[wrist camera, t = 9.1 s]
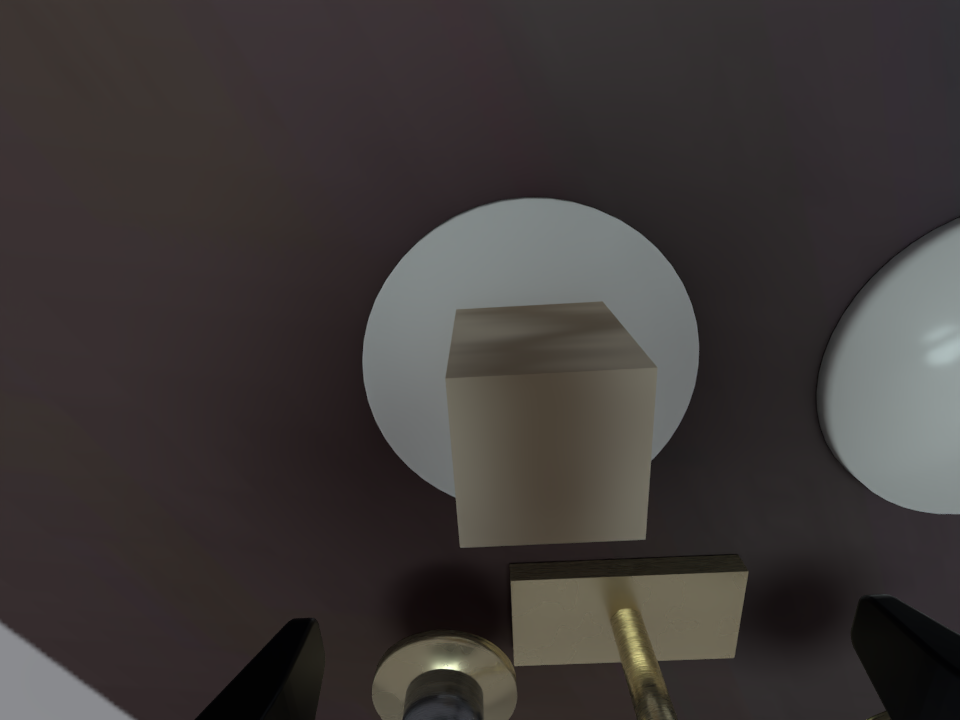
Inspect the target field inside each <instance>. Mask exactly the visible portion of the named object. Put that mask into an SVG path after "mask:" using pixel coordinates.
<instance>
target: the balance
mask: <svg viewBox="0 0 960 720" xmlns="http://www.w3.org/2000/svg"><path fill="white" fill-rule="evenodd" d="M748 572H749V571H748V570H747V568H746V567H745V565H744V563H743V562H742V560H741V559H740V557H739V556H738V555H716V556H692V557H668V558H643V559H619V560H595V561H570V562H546V563H522V564H510V587H511V611H512V635H513V655H514V666H530V665H557V664H584V663H611V662H621V663H622V667H623V671H624V674H625V678H626V681H627V685H628V689H629V692H630V696H631V700H632V703H633V707H634V710H635V714H636V718H637V720H678V719H677V716H676V713H675V710H674V707H673V704H672V702H671V699H670V696H669V693H668V690H667V687H666V684H665V681H664V679H663V676H662V673H661V670H660V667H659V664H658V661H665V660H692V659H719V658H734V657H735V651H736V645H737V639H738V633H739V627H740V620H741V614H742V608H743V602H744V596H745V590H746V584H747V578H748ZM372 700H373V703H374V706H375V709H376V711H377V713H378V714H379V716H380V717H381V718H382V720H509V718H510V717H511V715H512V714H513V711H514V709H515V706H516V702H517V684H516V674H515V671H514V667H513V665H512V663H511V661H510V660H509V658H508V657H507V656H506V654H505V653H504V652H503V651H502V650H501V649H500V648H498V647H497V646H496V645H494V644H493V643H491V642H490V641H488V640H486V639H484V638H482V637H480V636H477V635H474V634H471V633H467V632H463V631H457V630H430V631H425V632H420V633H417V634H414V635H411V636H408V637H406V638H404V639H402V640H400V641H399V642H397V643H396V644H394V645H393V646H392V647H390V648H389V649H388V650H387V651H386V652H385V653H384V655H383V656H382V658H381V659H380V661H379V663H378V665H377V668H376V672H375V676H374V681H373V686H372ZM867 720H891V719H890V717H889V715H888V713H887V711H884V712H882V713H879V714H877V715H875V716H872V717H870V718H869V719H867Z"/></svg>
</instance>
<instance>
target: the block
mask: <svg viewBox="0 0 960 720" xmlns="http://www.w3.org/2000/svg"><path fill="white" fill-rule="evenodd" d="M657 369H658V367H657V366H656V365H655V364H654V363H653V361H652V360H651V359H650V358H649V357H648V355H647V354H646V353H645V352H644V351H643V349H642V348H641V347H640V346H639V345H638V343H637V342H636V341H635V340H634V339H633V337H632V336H631V335H630V334H629V333H628V331H627V330H626V329H625V328H624V327H623V325H622V324H621V323H620V322H619V321H618V319H617V318H616V317H615V316H614V314H613V313H612V312H611V311H610V310H609V308H608V307H607V306H606V305H605V304H604V302H603V301H601V302H583V303H564V304H546V305H528V306H509V307H491V308H472V309H456V314H455V320H454V326H453V333H452V339H451V345H450V352H449V358H448V364H447V371H446V377H445V381H446V393H447V404H448V416H449V427H450V439H451V450H452V462H453V473H454V484H455V496H456V507H457V519H458V530H459V542H460V548H468V547H490V546H513V545H535V544H558V543H580V542H603V541H625V540H645V539H646V525H647V511H648V497H649V482H650V468H651V454H652V440H653V426H654V411H655V397H656V383H657Z"/></svg>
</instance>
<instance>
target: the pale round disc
mask: <svg viewBox="0 0 960 720" xmlns="http://www.w3.org/2000/svg"><path fill="white" fill-rule="evenodd" d="M601 301H603V302H604V304H605V305H606V306H607V307H608V308H609V310H610V311H611V312H612V313H613V314H614V316H615V317H616V318H617V319H618V321H619V322H620V323H621V324H622V325H623V327H624V328H625V329H626V330H627V331H628V333H629V334H630V335H631V336H632V337H633V339H634V340H635V341H636V342H637V343H638V345H639V346H640V347H641V348H642V349H643V351H644V352H645V353H646V354H647V355H648V357H649V358H650V359H651V360H652V361H653V363H654V364H655V365H656V366H657V367H658V369H657V383H656V397H655V411H654V426H653V440H652V454H651V460H652V459H653V458H655V457H656V456H657V454H658V453H659V452H660V451H661V450H662V448H663V447H664V446H665V445H666V444H667V442H668V441H669V440H670V438H671V437H672V435H673V434H674V432H675V430H676V429H677V427H678V426H679V424H680V422H681V420H682V418H683V416H684V414H685V412H686V410H687V408H688V405H689V403H690V399H691V396H692V393H693V390H694V387H695V382H696V377H697V371H698V365H699V339H698V330H697V323H696V319H695V315H694V311H693V307H692V303H691V301H690V299H689V296H688V294H687V292H686V289H685V287H684V285H683V283H682V281H681V280H680V278H679V276H678V275H677V273H676V272H675V270H674V268H673V267H672V265H671V264H670V263H669V262H668V260H667V259H666V258H665V257H664V256H663V254H662V253H661V252H660V251H659V250H658V249H657V248H656V247H655V246H654V245H653V244H652V243H651V242H650V241H649V240H647V239H646V238H645V237H644V236H643V235H642V234H641V233H639V232H638V231H636V230H635V229H633V228H632V227H630V226H628V225H627V224H625V223H624V222H622V221H621V220H619V219H617V218H615V217H612V216H610V215H608V214H606V213H604V212H601V211H599V210H597V209H595V208H593V207H590V206H586V205H583V204H580V203H576V202H573V201H569V200H562V199H555V198H549V197H520V198H512V199H504V200H498V201H495V202H491V203H487V204H483V205H480V206H477V207H474V208H472V209H469V210H467V211H465V212H462V213H460V214H457V215H455V216H454V217H452V218H450V219H449V220H447V221H445V222H443V223H442V224H440V225H438V226H437V227H435V228H434V229H433V230H432V231H430V232H429V233H428V234H426V235H425V236H424V237H423V238H421V239H420V240H419V241H418V242H417V243H416V244H415V245H414V246H413V247H412V248H411V249H410V250H409V251H408V252H407V253H406V254H405V255H404V256H403V258H402V259H401V260H400V262H399V263H398V264H397V266H396V267H395V268H394V270H393V271H392V273H391V274H390V275H389V277H388V278H387V279H386V281H385V283H384V285H383V287H382V289H381V290H380V292H379V294H378V296H377V298H376V300H375V303H374V305H373V308H372V311H371V313H370V316H369V319H368V323H367V328H366V332H365V337H364V344H363V358H362V364H363V377H364V385H365V389H366V394H367V399H368V402H369V405H370V408H371V410H372V413H373V416H374V419H375V421H376V423H377V425H378V426H379V428H380V430H381V432H382V434H383V436H384V438H385V439H386V440H387V442H388V443H389V445H390V446H391V447H392V449H393V450H394V452H395V453H396V454H397V455H398V456H399V457H400V458H401V459H402V460H403V462H404V463H405V464H406V465H407V466H408V467H409V468H410V469H412V470H413V471H414V472H415V473H416V474H418V475H419V476H420V477H421V478H422V479H424V480H425V481H427V482H428V483H430V484H431V485H433V486H434V487H436V488H438V489H439V490H441V491H443V492H445V493H447V494H449V495H451V496H453V497H455V498H456V496H455V484H454V473H453V462H452V450H451V439H450V427H449V416H448V404H447V393H446V381H445V377H446V371H447V364H448V358H449V352H450V345H451V339H452V333H453V326H454V320H455V314H456V309H472V308H491V307H509V306H528V305H546V304H564V303H583V302H601Z"/></svg>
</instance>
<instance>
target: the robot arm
mask: <svg viewBox="0 0 960 720" xmlns="http://www.w3.org/2000/svg"><path fill="white" fill-rule="evenodd" d="M851 640H852V644H853V647H854V649H855V651H856V653H857V655H858V657H859V659H860V661H861V663H862V664H863V666H864V668H865V670H866V672H867V674H868V676H869V678H870V680H871V682H872V684H873V686H874V688H875V690H876V692H877V693H878V695H879V697H880V699H881V701H882V703H883V705H884V707H885V709H886V711H887V713H888V715H889V717H890V719H891V720H960V635H959V634H957V633H956V632H954V631H952V630H951V629H949V628H947V627H945V626H944V625H942V624H940V623H939V622H937V621H935V620H933V619H932V618H930V617H928V616H926V615H925V614H923V613H921V612H920V611H918V610H916V609H914V608H913V607H911V606H909V605H908V604H906V603H904V602H902V601H901V600H899V599H897V598H895V597H893V596H891V595H886V594H880V595H865V596H863V597H861V598H860V600H859V602H858V606H857V609H856V613H855V617H854V621H853V624H852V628H851ZM324 667H325V652H324V647H323V642H322V638H321V633H320V629H319V624H318V622H317V620H316V619H315V618H296V619H292V620H290V621H289V622H288V623H287V624H286V625H285V626H284V627H283V628H282V629H281V630H280V631H279V632H278V633H277V634H276V635H275V636H274V637H273V638H272V639H271V640H270V641H269V642H268V643H267V645H266V646H265V647H264V648H263V649H262V650H261V651H260V652H259V653H258V654H257V655H256V656H255V657H254V658H253V659H252V660H251V661H250V662H249V663H248V664H247V665H246V666H245V667H244V669H243V670H242V671H241V672H240V673H239V674H238V675H237V676H236V677H235V678H234V679H233V680H232V681H231V682H230V683H229V684H228V685H227V686H226V687H225V688H224V689H223V690H222V692H221V693H220V694H219V695H218V696H217V697H216V698H215V699H214V700H213V701H212V702H211V703H210V704H209V705H208V706H207V707H206V708H205V709H204V710H203V711H202V712H201V713H200V714H199V716H198V717H197V718H196V719H195V720H315V716H316V711H317V705H318V700H319V695H320V689H321V684H322V679H323V673H324Z"/></svg>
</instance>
